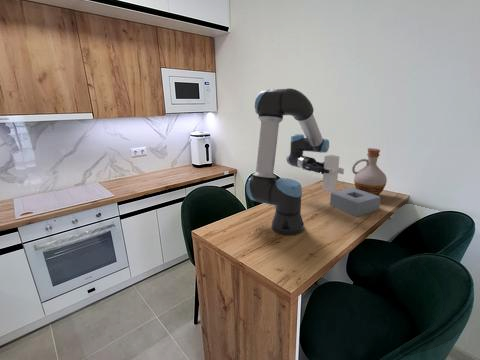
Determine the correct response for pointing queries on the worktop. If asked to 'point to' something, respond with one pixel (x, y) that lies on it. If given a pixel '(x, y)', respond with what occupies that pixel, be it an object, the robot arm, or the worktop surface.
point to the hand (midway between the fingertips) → (339, 172)
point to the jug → (370, 174)
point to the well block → (355, 201)
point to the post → (328, 179)
